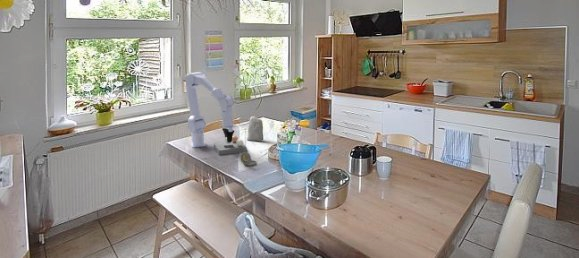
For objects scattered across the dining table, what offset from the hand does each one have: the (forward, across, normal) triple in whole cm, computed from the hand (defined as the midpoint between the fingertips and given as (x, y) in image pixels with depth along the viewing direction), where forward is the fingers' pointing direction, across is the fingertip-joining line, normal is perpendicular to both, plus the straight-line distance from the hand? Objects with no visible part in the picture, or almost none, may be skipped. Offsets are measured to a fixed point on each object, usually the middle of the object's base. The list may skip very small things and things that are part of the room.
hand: (228, 141), depth 215 cm
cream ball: (+1, -2, -6) cm, 6 cm away
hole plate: (+6, +3, -1) cm, 6 cm away
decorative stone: (+6, +15, -20) cm, 26 cm away
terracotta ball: (+1, +8, -5) cm, 9 cm away
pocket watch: (+6, -28, -4) cm, 29 cm away
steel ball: (-1, 0, 0) cm, 1 cm away
